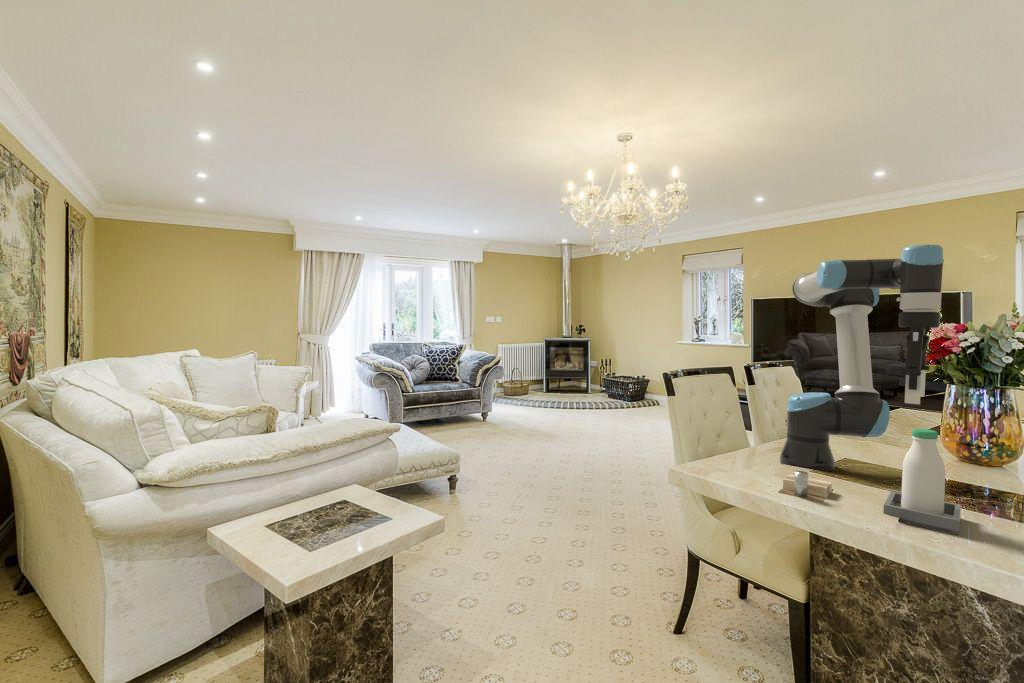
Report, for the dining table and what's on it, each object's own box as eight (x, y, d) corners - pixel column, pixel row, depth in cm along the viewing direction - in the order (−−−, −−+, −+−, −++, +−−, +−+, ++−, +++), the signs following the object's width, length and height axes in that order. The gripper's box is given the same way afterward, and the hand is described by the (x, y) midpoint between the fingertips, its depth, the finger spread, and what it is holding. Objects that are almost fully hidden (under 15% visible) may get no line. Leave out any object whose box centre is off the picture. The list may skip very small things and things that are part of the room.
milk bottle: (952, 522, 110) (955, 434, 109) (913, 519, 111) (916, 432, 110) (930, 509, 117) (933, 427, 116) (893, 507, 119) (896, 425, 118)
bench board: (791, 484, 137) (792, 480, 137) (833, 493, 130) (833, 489, 130) (777, 496, 128) (777, 492, 128) (821, 506, 121) (821, 502, 121)
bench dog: (795, 492, 127) (796, 470, 127) (808, 495, 125) (809, 472, 125) (792, 495, 125) (793, 472, 125) (805, 498, 123) (806, 475, 123)
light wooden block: (789, 483, 135) (789, 474, 135) (831, 492, 128) (831, 482, 128) (782, 488, 131) (783, 479, 131) (826, 497, 124) (826, 488, 124)
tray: (890, 503, 123) (891, 491, 123) (960, 518, 114) (960, 504, 114) (883, 518, 114) (883, 504, 114) (958, 535, 105) (959, 520, 105)
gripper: (904, 311, 127) (900, 391, 128) (892, 311, 109) (888, 404, 110) (942, 311, 122) (938, 395, 123) (937, 311, 104) (932, 409, 105)
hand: (914, 399), depth 117 cm, fingers open, 13 cm apart
